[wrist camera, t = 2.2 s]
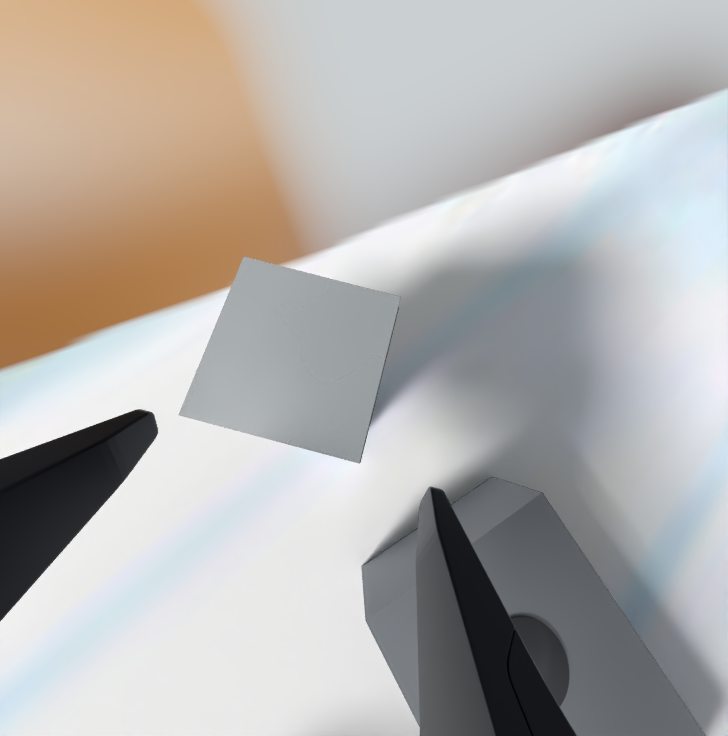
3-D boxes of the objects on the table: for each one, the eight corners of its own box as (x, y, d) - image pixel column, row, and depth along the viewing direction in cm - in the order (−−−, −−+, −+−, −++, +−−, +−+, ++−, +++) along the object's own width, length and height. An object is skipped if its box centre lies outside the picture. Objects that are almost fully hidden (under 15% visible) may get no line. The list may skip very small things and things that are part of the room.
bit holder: (546, 920, 14) (658, 1200, 9) (361, 566, 17) (365, 623, 12) (684, 776, 15) (847, 943, 10) (491, 476, 18) (544, 493, 13)
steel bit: (354, 443, 19) (360, 466, 6) (295, 427, 19) (175, 416, 6) (369, 384, 19) (403, 295, 7) (313, 370, 20) (242, 254, 7)
